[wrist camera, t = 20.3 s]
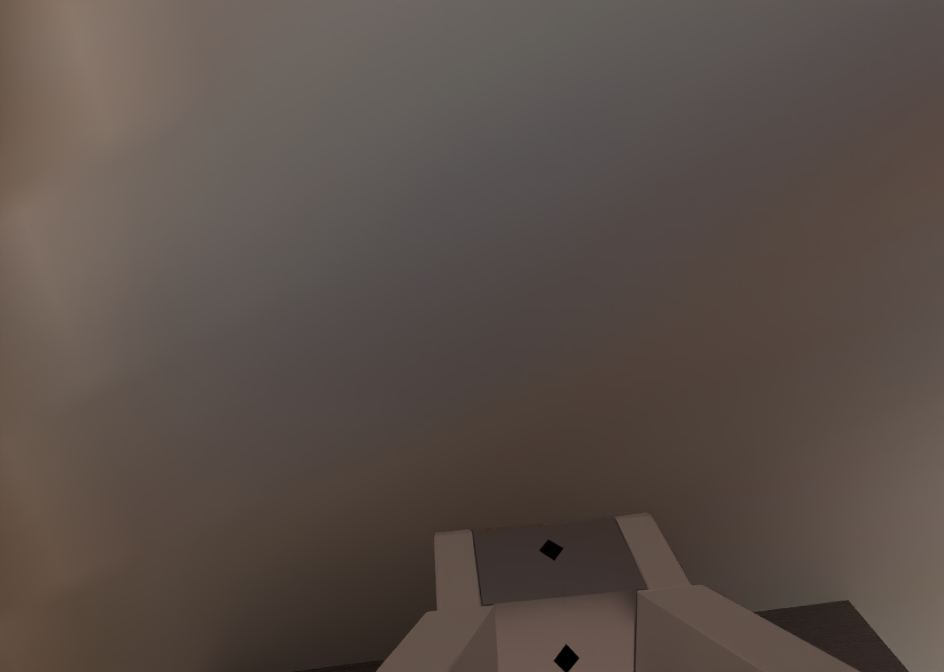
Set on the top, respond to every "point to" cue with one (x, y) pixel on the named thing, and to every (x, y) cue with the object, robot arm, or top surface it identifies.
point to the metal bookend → (816, 624)
